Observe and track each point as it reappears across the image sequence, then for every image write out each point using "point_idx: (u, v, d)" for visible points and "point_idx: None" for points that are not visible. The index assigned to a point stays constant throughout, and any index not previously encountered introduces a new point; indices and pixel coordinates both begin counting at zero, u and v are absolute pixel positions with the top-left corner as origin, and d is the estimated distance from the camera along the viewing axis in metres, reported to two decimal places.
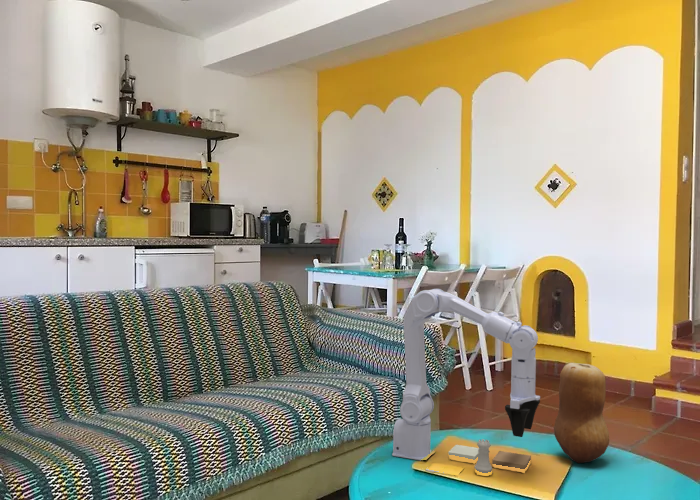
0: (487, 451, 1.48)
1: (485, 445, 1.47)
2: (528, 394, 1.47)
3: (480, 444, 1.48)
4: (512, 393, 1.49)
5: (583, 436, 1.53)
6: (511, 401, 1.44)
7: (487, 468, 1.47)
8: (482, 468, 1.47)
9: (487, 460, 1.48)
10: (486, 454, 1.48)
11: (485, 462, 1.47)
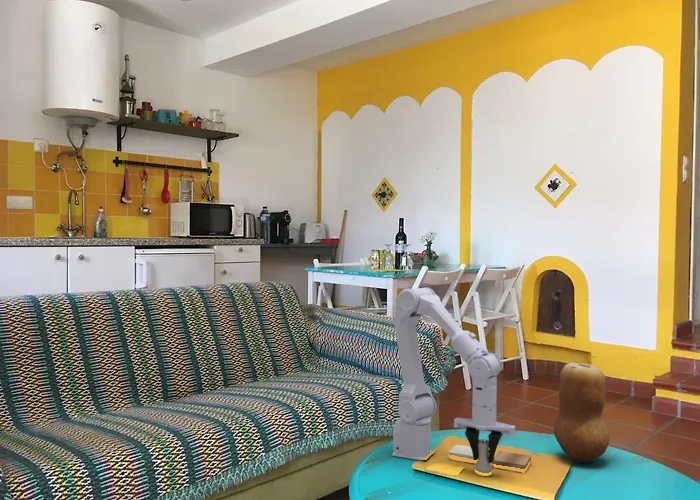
0: (487, 451, 1.48)
1: (485, 445, 1.47)
2: (473, 420, 1.48)
3: (480, 444, 1.48)
4: None
5: (584, 436, 1.53)
6: None
7: (487, 468, 1.47)
8: (482, 467, 1.47)
9: (487, 460, 1.48)
10: (486, 454, 1.48)
11: (485, 461, 1.47)
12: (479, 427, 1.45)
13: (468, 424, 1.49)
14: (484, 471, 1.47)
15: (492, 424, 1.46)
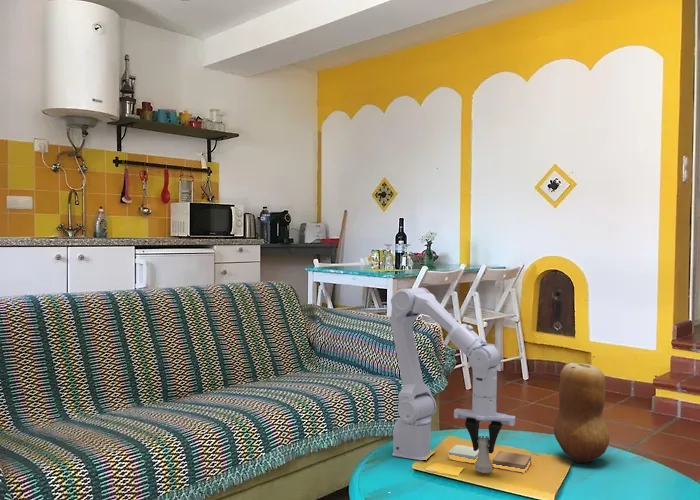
0: (487, 448, 1.48)
1: (484, 442, 1.47)
2: (473, 410, 1.48)
3: (480, 441, 1.48)
4: None
5: (584, 436, 1.53)
6: None
7: (486, 465, 1.47)
8: (482, 464, 1.47)
9: (486, 457, 1.48)
10: (486, 451, 1.48)
11: (484, 458, 1.47)
12: (479, 417, 1.45)
13: (468, 415, 1.49)
14: (484, 468, 1.47)
15: (492, 414, 1.46)
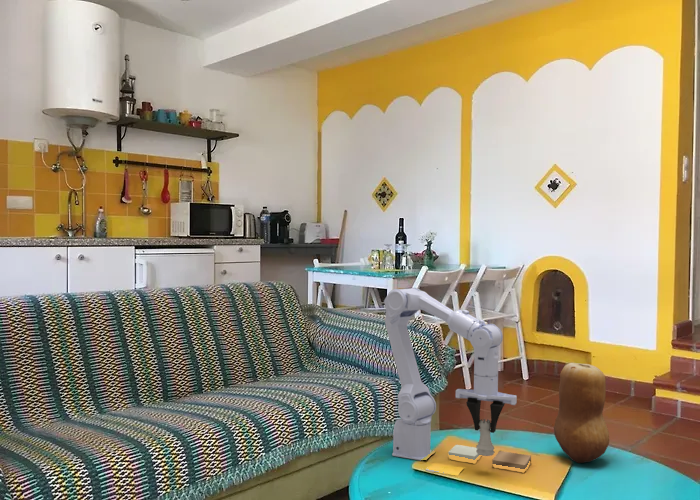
0: (488, 430, 1.48)
1: (486, 424, 1.48)
2: (474, 390, 1.48)
3: (481, 423, 1.48)
4: None
5: (584, 436, 1.53)
6: None
7: (488, 448, 1.47)
8: (483, 447, 1.47)
9: (488, 440, 1.48)
10: (487, 433, 1.48)
11: (486, 441, 1.48)
12: (481, 397, 1.46)
13: (470, 394, 1.49)
14: (485, 450, 1.47)
15: (494, 394, 1.47)
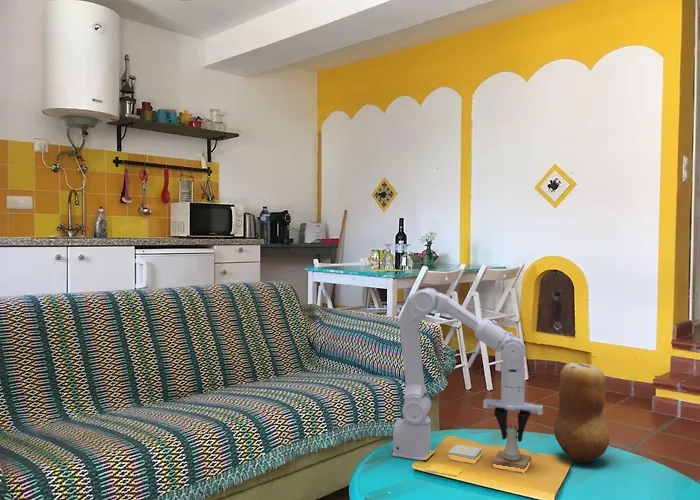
0: (515, 436, 1.53)
1: (513, 430, 1.53)
2: (502, 400, 1.54)
3: (508, 429, 1.53)
4: None
5: (584, 436, 1.53)
6: None
7: (515, 453, 1.52)
8: (510, 452, 1.53)
9: (515, 445, 1.53)
10: (514, 439, 1.53)
11: (513, 446, 1.53)
12: (508, 407, 1.51)
13: (497, 404, 1.54)
14: (512, 456, 1.52)
15: (521, 404, 1.52)
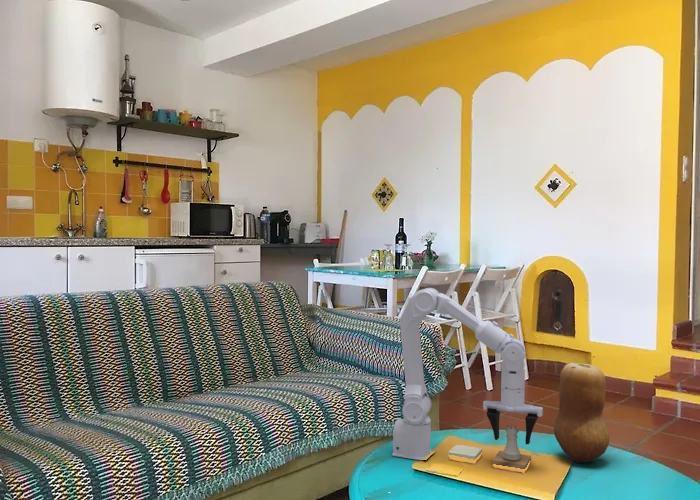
0: (515, 436, 1.53)
1: (513, 430, 1.53)
2: (502, 402, 1.54)
3: (508, 429, 1.53)
4: None
5: (584, 436, 1.53)
6: None
7: (515, 453, 1.52)
8: (510, 452, 1.53)
9: (515, 445, 1.53)
10: (514, 439, 1.53)
11: (513, 446, 1.53)
12: (508, 408, 1.51)
13: (497, 406, 1.54)
14: (512, 456, 1.52)
15: (521, 406, 1.52)
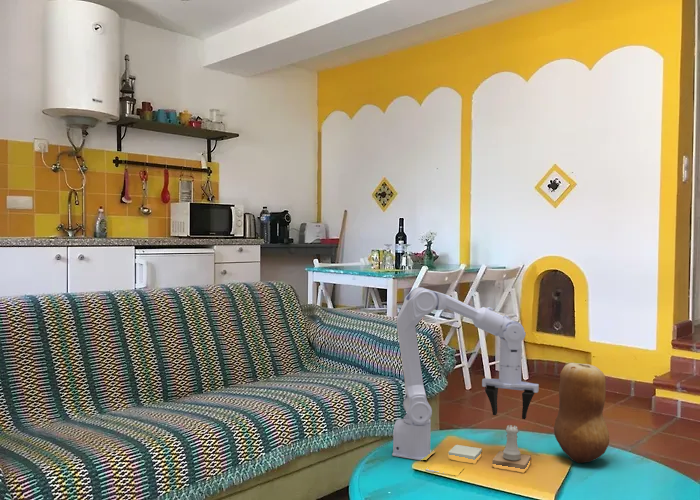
0: (515, 436, 1.53)
1: (513, 430, 1.53)
2: (500, 379, 1.62)
3: (508, 429, 1.53)
4: None
5: (584, 436, 1.53)
6: None
7: (515, 453, 1.52)
8: (510, 452, 1.53)
9: (515, 445, 1.53)
10: (514, 439, 1.53)
11: (513, 446, 1.53)
12: (506, 385, 1.59)
13: (495, 383, 1.63)
14: (512, 456, 1.52)
15: (518, 382, 1.60)
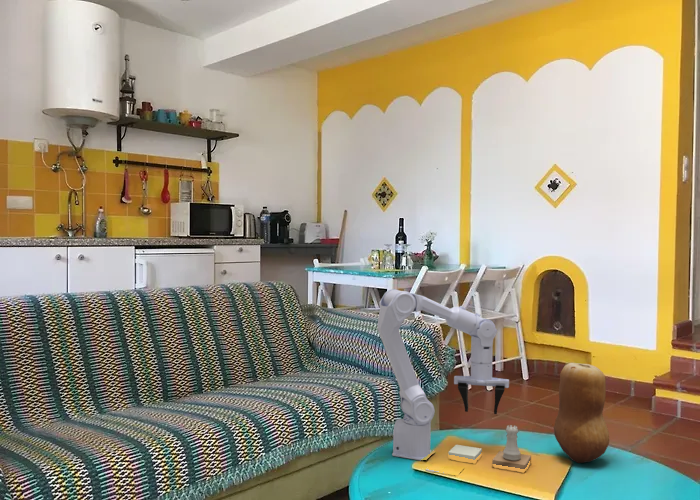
0: (515, 436, 1.53)
1: (513, 430, 1.53)
2: (472, 376, 1.65)
3: (508, 429, 1.53)
4: None
5: (584, 436, 1.53)
6: None
7: (515, 453, 1.52)
8: (510, 452, 1.53)
9: (515, 445, 1.53)
10: (514, 439, 1.53)
11: (513, 446, 1.53)
12: (479, 381, 1.63)
13: (468, 380, 1.65)
14: (512, 456, 1.52)
15: (490, 379, 1.64)
